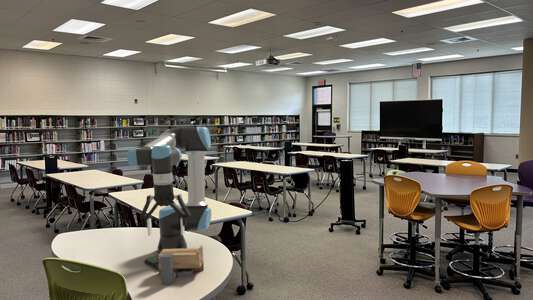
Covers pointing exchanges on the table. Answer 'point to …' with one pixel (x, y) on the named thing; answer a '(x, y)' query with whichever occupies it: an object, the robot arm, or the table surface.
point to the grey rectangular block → (167, 269)
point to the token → (185, 272)
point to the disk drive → (152, 262)
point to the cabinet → (185, 258)
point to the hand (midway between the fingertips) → (166, 234)
